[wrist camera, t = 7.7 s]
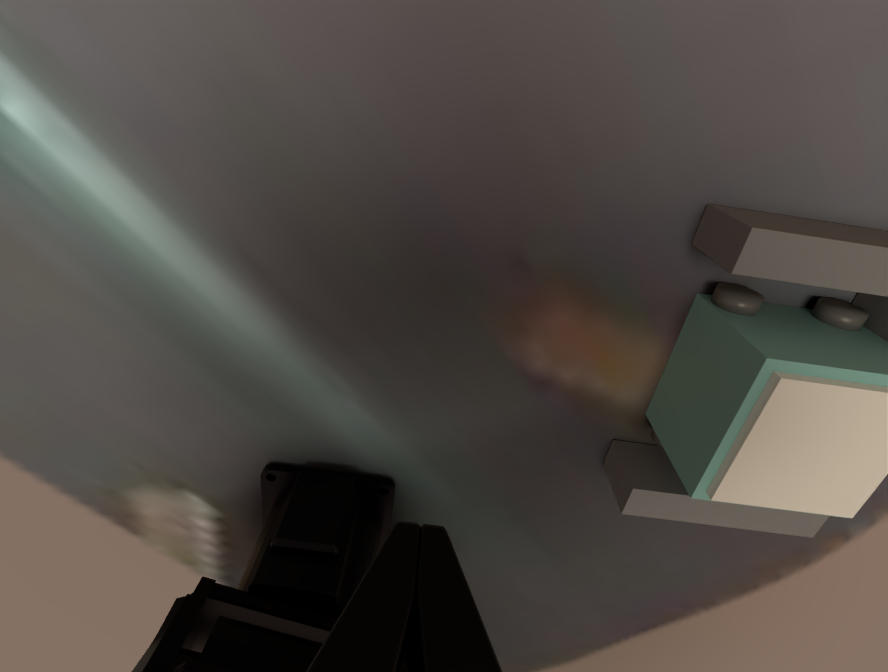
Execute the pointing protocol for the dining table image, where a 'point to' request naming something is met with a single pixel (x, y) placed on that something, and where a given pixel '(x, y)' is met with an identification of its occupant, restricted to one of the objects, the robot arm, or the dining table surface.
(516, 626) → the dining table surface
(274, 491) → the robot arm
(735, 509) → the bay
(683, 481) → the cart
